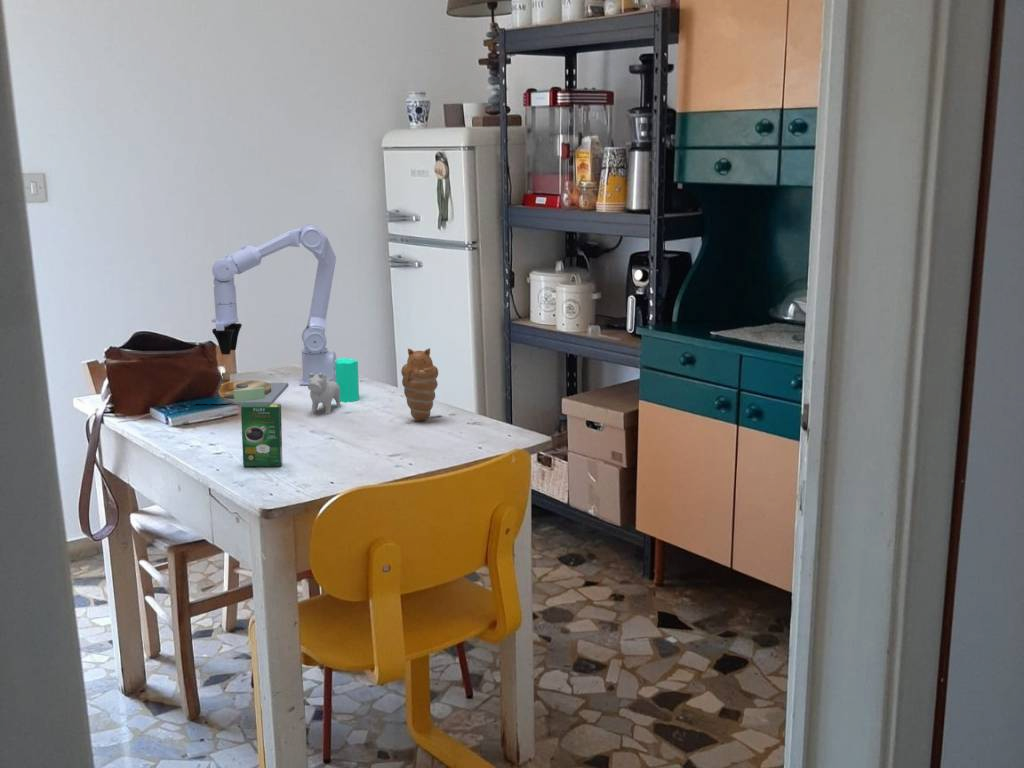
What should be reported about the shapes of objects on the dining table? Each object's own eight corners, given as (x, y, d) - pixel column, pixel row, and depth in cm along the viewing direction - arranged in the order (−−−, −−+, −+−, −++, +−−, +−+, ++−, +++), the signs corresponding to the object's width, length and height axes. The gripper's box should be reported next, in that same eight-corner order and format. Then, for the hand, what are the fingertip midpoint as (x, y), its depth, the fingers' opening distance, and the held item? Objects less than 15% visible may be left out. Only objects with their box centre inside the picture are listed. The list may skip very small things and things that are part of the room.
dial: (276, 384, 272) (275, 369, 271) (263, 398, 256) (262, 382, 255) (222, 384, 271) (221, 369, 270) (205, 398, 256) (204, 382, 255)
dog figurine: (303, 417, 242) (301, 375, 240) (323, 404, 255) (321, 364, 252) (324, 418, 241) (322, 375, 239) (343, 405, 254) (341, 365, 251)
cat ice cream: (401, 425, 235) (399, 351, 231) (404, 416, 242) (402, 345, 238) (438, 425, 235) (437, 351, 231) (439, 416, 243) (438, 344, 239)
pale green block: (263, 397, 258) (263, 387, 258) (265, 398, 257) (264, 388, 256) (233, 400, 255) (232, 390, 255) (234, 401, 254) (234, 391, 253)
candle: (333, 398, 261) (332, 353, 259) (355, 395, 264) (354, 351, 261) (339, 403, 256) (338, 357, 253) (362, 400, 259) (360, 356, 256)
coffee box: (284, 463, 206) (281, 402, 203) (282, 467, 203) (279, 405, 200) (245, 463, 205) (242, 402, 203) (242, 467, 203) (239, 406, 200)
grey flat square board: (288, 385, 275) (288, 381, 275) (270, 405, 254) (270, 400, 254) (216, 385, 275) (216, 381, 275) (193, 405, 254) (192, 401, 253)
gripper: (218, 299, 275) (221, 347, 278) (203, 307, 261) (206, 357, 264) (243, 299, 275) (246, 347, 278) (229, 307, 261) (233, 357, 264)
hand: (228, 352), depth 271 cm, fingers open, 5 cm apart
